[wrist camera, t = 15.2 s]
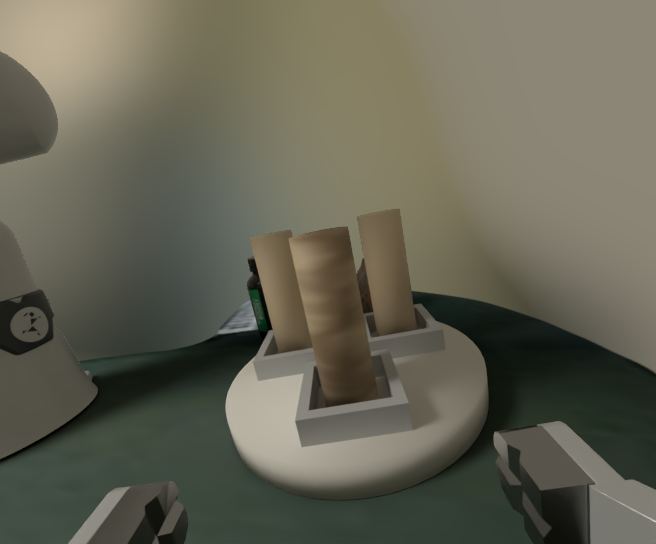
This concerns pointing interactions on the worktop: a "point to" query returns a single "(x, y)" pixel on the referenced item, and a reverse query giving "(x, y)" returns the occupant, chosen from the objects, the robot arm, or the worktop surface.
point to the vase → (364, 289)
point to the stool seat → (364, 417)
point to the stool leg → (334, 315)
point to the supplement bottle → (258, 300)
